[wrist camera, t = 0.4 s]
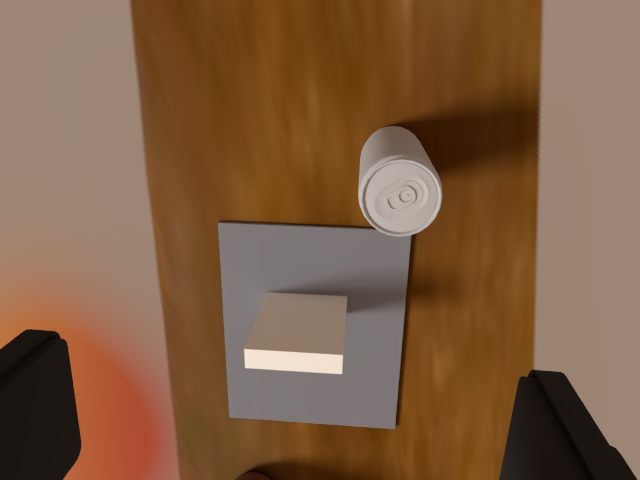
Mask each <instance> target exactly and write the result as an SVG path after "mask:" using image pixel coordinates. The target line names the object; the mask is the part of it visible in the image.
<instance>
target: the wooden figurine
mask: <svg viewBox="0 0 640 480" xmlns="http://www.w3.org/2000/svg"><path fill="white" fill-rule="evenodd" d="M235 480H271V479H270V478H268V477H267V476H265V475H263V474H260V473H255V472H249V473H245V474H242V475H241V476H239V477H238V478H236V479H235Z"/></svg>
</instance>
